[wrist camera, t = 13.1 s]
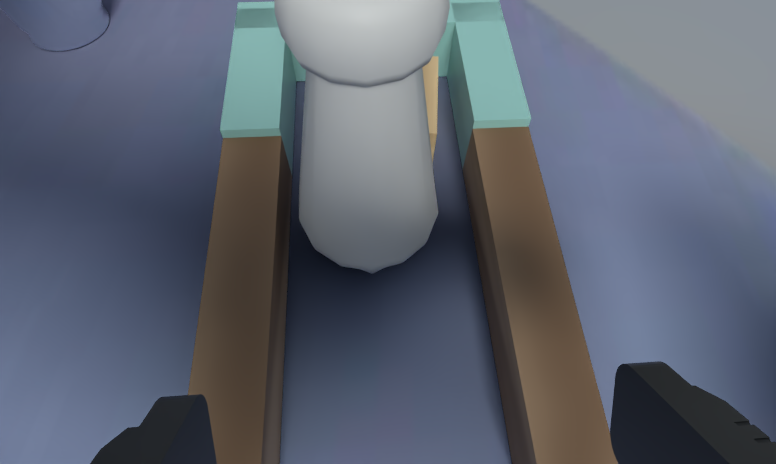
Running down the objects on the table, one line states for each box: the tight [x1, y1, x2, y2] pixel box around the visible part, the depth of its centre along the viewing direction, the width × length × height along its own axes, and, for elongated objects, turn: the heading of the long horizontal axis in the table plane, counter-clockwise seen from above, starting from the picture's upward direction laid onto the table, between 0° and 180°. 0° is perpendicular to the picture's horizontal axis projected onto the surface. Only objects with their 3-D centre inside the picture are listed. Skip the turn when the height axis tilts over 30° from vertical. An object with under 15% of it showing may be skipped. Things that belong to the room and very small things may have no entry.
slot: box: [188, 127, 618, 464], centre depth 19 cm, size 13×14×3 cm
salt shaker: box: [274, 0, 450, 274], centre depth 17 cm, size 6×6×13 cm
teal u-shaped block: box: [220, 0, 531, 174], centre depth 24 cm, size 13×8×4 cm, turn 94°
